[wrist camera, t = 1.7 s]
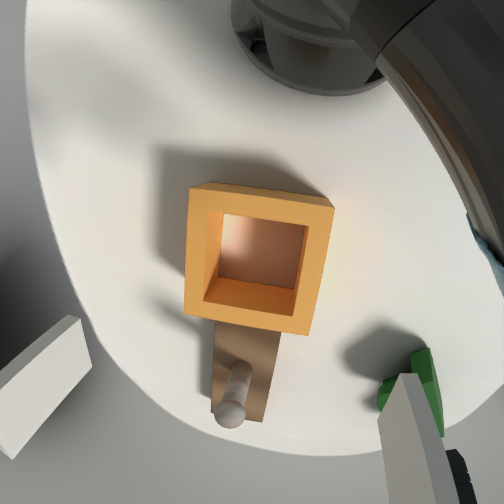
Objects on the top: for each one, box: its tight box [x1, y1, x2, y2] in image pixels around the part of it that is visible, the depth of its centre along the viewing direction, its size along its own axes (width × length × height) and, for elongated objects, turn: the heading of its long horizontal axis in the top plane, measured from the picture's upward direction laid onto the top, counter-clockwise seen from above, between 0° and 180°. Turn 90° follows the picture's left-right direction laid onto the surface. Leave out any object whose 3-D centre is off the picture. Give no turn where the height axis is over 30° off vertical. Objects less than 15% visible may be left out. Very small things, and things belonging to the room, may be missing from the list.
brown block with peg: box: [211, 320, 281, 428], centre depth 26 cm, size 14×6×10 cm, turn 174°
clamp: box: [377, 348, 444, 438], centre depth 26 cm, size 12×6×9 cm, turn 25°
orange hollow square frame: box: [184, 182, 335, 336], centre depth 24 cm, size 10×10×5 cm
